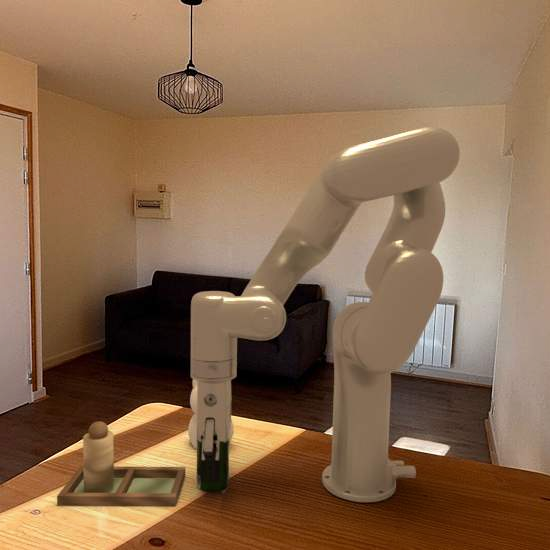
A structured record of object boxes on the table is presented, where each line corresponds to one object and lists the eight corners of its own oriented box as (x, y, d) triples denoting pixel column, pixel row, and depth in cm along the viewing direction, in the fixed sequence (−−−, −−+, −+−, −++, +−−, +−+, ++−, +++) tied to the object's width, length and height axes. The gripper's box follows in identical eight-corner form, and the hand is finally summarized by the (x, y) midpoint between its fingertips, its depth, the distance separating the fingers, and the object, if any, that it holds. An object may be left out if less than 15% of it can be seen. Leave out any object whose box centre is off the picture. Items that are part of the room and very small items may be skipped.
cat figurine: (183, 459, 93) (184, 382, 92) (193, 431, 106) (194, 363, 104) (231, 460, 93) (232, 383, 92) (235, 432, 106) (236, 364, 104)
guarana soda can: (204, 501, 79) (205, 428, 78) (191, 486, 83) (191, 417, 82) (234, 491, 82) (235, 421, 81) (219, 477, 86) (220, 411, 85)
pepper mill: (117, 482, 82) (116, 416, 81) (108, 497, 78) (108, 427, 77) (89, 481, 82) (88, 416, 81) (79, 496, 78) (78, 427, 77)
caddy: (185, 480, 85) (185, 466, 85) (175, 511, 76) (175, 496, 75) (80, 479, 85) (80, 466, 84) (57, 511, 75) (57, 496, 75)
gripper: (233, 383, 72) (231, 501, 74) (239, 354, 89) (237, 450, 91) (182, 382, 72) (181, 500, 74) (197, 353, 89) (197, 450, 91)
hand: (212, 471), depth 82 cm, fingers closed on guarana soda can, 5 cm apart
